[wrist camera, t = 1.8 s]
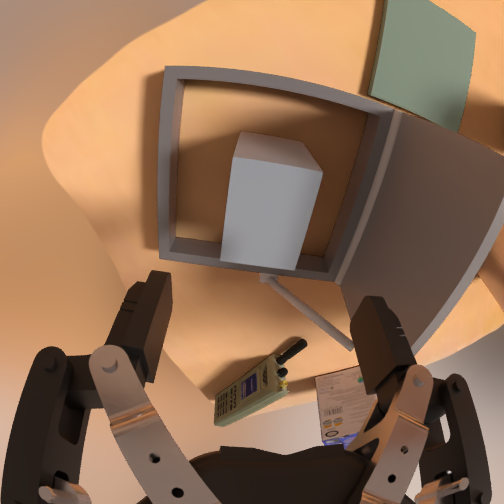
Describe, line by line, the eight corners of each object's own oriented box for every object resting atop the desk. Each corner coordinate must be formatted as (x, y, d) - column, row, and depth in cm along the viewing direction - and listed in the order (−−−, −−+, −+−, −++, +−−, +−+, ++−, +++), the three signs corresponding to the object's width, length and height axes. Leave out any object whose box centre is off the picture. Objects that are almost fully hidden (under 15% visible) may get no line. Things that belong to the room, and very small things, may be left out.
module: (301, 141, 21) (323, 172, 14) (284, 214, 25) (294, 270, 18) (241, 130, 20) (232, 156, 14) (230, 206, 24) (220, 260, 18)
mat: (471, 33, 12) (475, 32, 11) (452, 132, 19) (457, 134, 18) (386, -18, 11) (390, -20, 10) (367, 94, 18) (370, 95, 17)
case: (174, 67, 17) (56, 63, 5) (395, 111, 18) (524, 171, 7) (166, 253, 27) (119, 376, 16) (338, 276, 29) (372, 397, 17)
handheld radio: (212, 394, 47) (293, 330, 35) (227, 398, 48) (311, 337, 36) (210, 424, 42) (299, 374, 29) (226, 428, 43) (319, 379, 30)
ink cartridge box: (317, 388, 45) (325, 459, 33) (312, 376, 42) (321, 454, 30) (368, 375, 43) (384, 445, 31) (368, 361, 40) (386, 439, 28)
